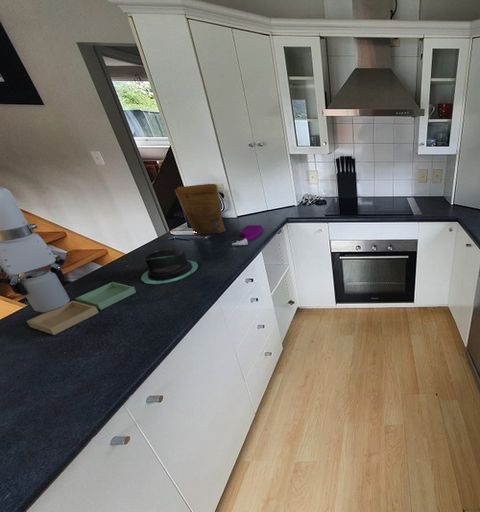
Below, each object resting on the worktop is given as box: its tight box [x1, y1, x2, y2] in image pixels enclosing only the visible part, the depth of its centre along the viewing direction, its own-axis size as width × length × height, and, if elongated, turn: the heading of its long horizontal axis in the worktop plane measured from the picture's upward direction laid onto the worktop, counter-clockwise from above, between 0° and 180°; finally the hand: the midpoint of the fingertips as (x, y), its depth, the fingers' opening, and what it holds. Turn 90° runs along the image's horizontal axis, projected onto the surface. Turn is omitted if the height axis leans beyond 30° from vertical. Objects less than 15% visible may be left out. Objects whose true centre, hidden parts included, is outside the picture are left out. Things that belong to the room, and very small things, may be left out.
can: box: [18, 268, 71, 313], centre depth 83 cm, size 8×8×12 cm
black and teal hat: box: [140, 248, 199, 285], centre depth 117 cm, size 15×19×20 cm
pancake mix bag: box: [174, 183, 227, 236], centre depth 151 cm, size 7×19×28 cm, turn 112°
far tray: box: [75, 281, 137, 311], centre depth 99 cm, size 11×11×2 cm
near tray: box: [26, 300, 100, 336], centre depth 88 cm, size 11×11×2 cm
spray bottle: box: [231, 224, 264, 246], centre depth 152 cm, size 3×11×24 cm
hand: (42, 286), depth 83 cm, fingers closed on can, 7 cm apart
